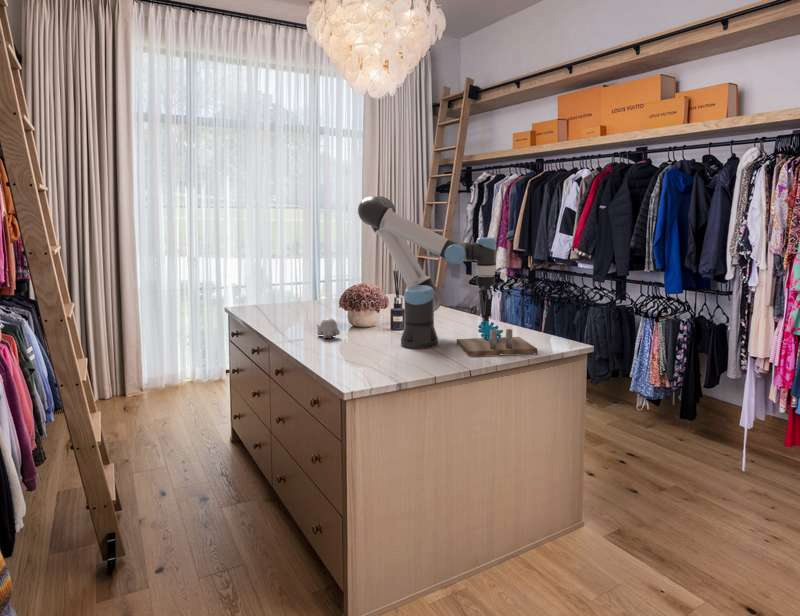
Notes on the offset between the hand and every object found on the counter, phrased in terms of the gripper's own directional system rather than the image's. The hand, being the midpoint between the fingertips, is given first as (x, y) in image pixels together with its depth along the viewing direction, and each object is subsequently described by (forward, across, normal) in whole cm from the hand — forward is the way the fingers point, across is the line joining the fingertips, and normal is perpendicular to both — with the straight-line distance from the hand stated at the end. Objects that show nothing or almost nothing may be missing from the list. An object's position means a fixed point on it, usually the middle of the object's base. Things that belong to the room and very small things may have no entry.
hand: (485, 332), depth 247 cm
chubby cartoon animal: (+4, +19, +65) cm, 68 cm away
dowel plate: (+3, -15, 0) cm, 16 cm away
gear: (+2, -10, 0) cm, 10 cm away
